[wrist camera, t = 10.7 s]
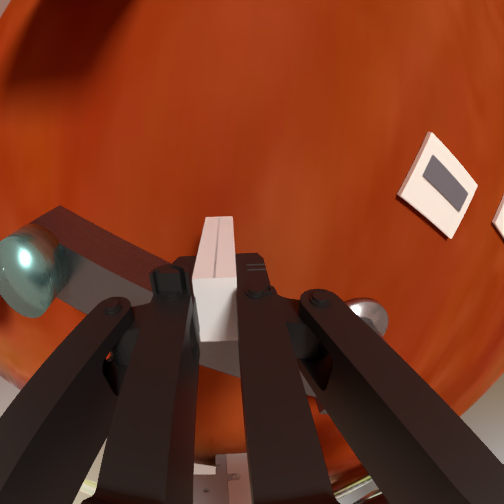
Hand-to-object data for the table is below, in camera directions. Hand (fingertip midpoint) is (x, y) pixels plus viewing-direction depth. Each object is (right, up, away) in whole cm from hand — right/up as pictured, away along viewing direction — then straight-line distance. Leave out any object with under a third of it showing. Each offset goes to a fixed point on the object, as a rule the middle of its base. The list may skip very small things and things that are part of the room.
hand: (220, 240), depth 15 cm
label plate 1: (+18, +5, +3) cm, 19 cm away
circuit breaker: (-3, -35, +20) cm, 40 cm away
